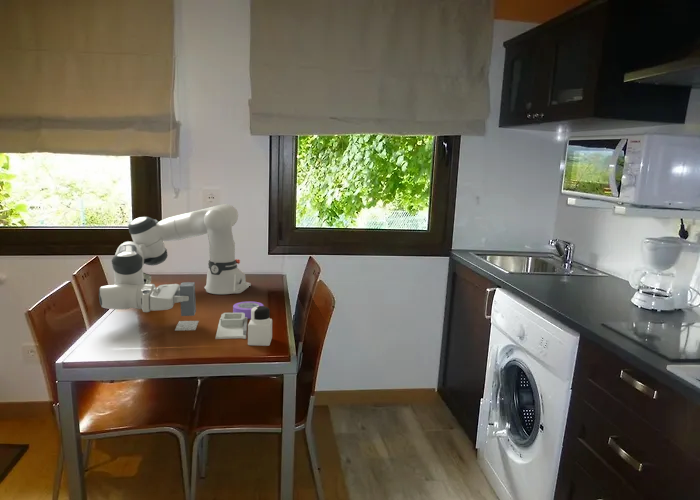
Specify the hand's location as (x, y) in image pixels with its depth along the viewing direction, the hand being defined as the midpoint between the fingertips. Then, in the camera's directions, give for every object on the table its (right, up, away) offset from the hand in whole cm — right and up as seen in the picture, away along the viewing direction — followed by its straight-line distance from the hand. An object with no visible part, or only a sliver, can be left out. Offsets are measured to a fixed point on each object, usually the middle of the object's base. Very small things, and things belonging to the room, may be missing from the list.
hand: (189, 295), depth 177 cm
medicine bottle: (+27, -15, -10) cm, 32 cm away
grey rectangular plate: (-2, -11, +2) cm, 12 cm away
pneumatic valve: (-32, -5, +29) cm, 44 cm away
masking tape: (+17, -9, +19) cm, 27 cm away
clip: (-1, -7, +2) cm, 7 cm away
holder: (+15, -12, +1) cm, 19 cm away
